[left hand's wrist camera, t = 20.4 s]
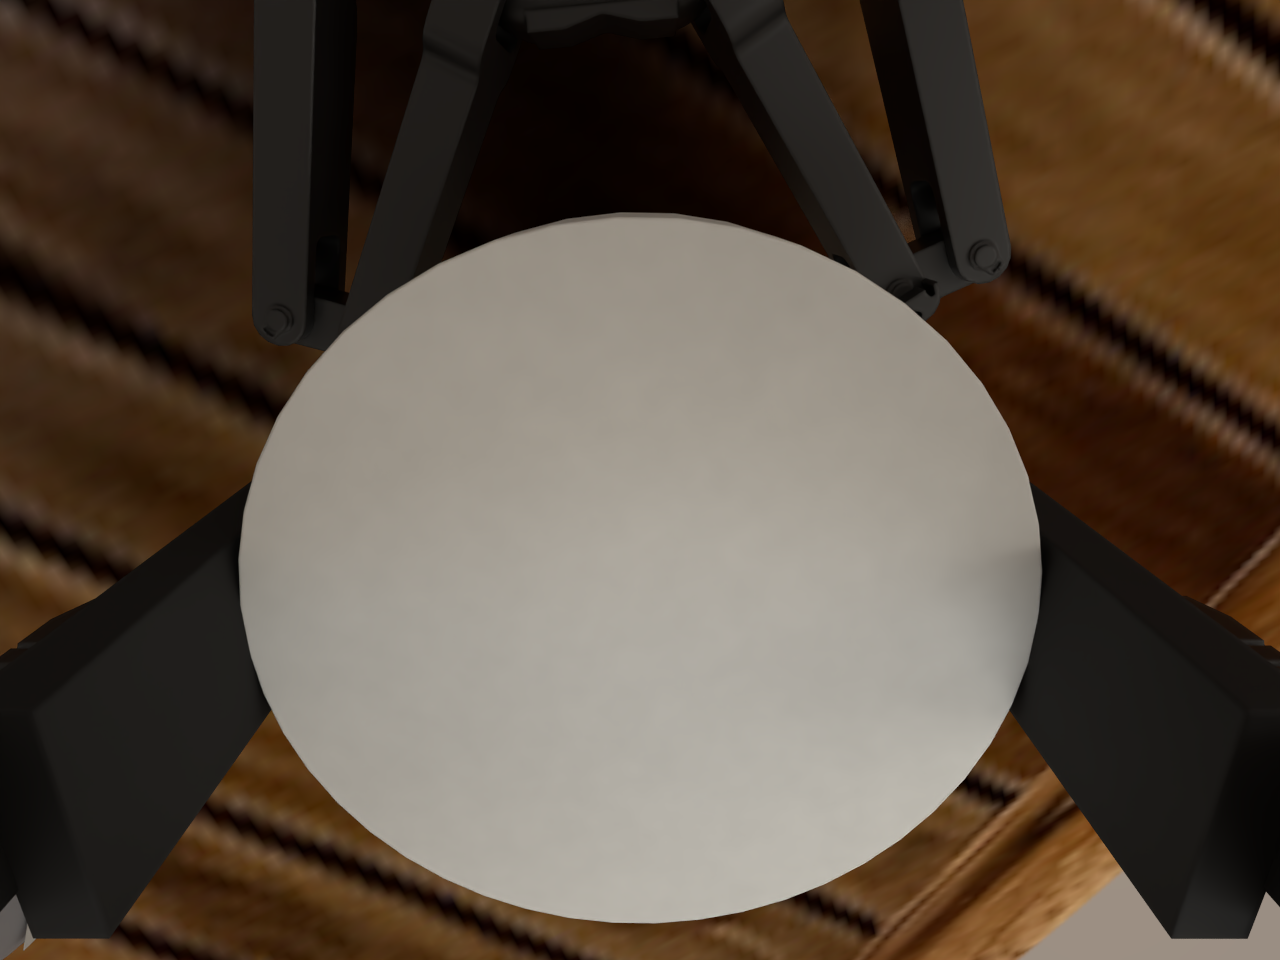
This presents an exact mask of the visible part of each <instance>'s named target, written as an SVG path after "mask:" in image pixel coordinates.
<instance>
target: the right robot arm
mask: <svg viewBox="0 0 1280 960" xmlns="http://www.w3.org/2000/svg"><path fill="white" fill-rule="evenodd" d="M860 4H861V8H862V12H863V17H864V21H865V25H866V29H867V34H868V38H869V42H870V46H871V51H872V55H873V59H874V63H875V68H876V72H877V76H878V80H879V85H880V89H881V93H882V97H883V102H884V106H885V110H886V114H887V119H888V123H889V127H890V131H891V135H892V140H893V144H894V148H895V152H896V157H897V161H898V165H899V169H900V174H901V178H902V182H903V186H904V191H905V195H906V199H907V203H908V208H909V212H910V216H911V220H912V225H913V229H914V233H915V237H916V240H914V241H912V242H909V243H907V242H906V240H905V238H904V236H903V235H902V233H901V231H900V229H899V227H898V225H897V223H896V222H895V220H894V218H893V216H892V214H891V212H890V210H889V208H888V207H887V205H886V203H885V201H884V199H883V197H882V195H881V193H880V192H879V190H878V188H877V186H876V184H875V182H874V180H873V178H872V177H871V175H870V173H869V171H868V169H867V167H866V165H865V163H864V162H863V160H862V158H861V156H860V154H859V152H858V150H857V148H856V147H855V145H854V143H853V141H852V139H851V137H850V135H849V133H848V132H847V130H846V128H845V126H844V124H843V122H842V120H841V118H840V117H839V115H838V113H837V111H836V109H835V107H834V105H833V104H832V102H831V100H830V98H829V96H828V94H827V92H826V90H825V89H824V87H823V85H822V83H821V81H820V79H819V77H818V75H817V74H816V72H815V70H814V68H813V66H812V64H811V62H810V60H809V59H808V57H807V55H806V53H805V51H804V49H803V47H802V45H801V44H800V42H799V40H798V38H797V36H796V34H795V32H794V30H793V29H792V27H791V25H790V23H789V21H788V18H787V16H786V13H785V7H784V2H783V0H432V1H431V4H430V7H429V10H428V14H427V17H426V21H425V25H424V30H423V55H422V59H421V63H420V66H419V69H418V72H417V76H416V79H415V82H414V85H413V89H412V92H411V95H410V98H409V102H408V105H407V108H406V111H405V115H404V118H403V121H402V124H401V128H400V131H399V134H398V137H397V140H396V144H395V147H394V150H393V153H392V157H391V160H390V163H389V166H388V170H387V173H386V176H385V179H384V183H383V186H382V189H381V192H380V196H379V199H378V202H377V205H376V208H375V212H374V215H373V218H372V221H371V225H370V228H369V231H368V234H367V238H366V241H365V244H364V247H363V251H362V254H361V257H360V260H359V264H358V267H357V270H356V273H355V276H354V280H353V283H352V286H351V289H350V293H347V292H345V272H346V252H347V231H348V210H349V189H350V168H351V147H352V126H353V105H354V84H355V63H356V42H357V5H356V0H254V105H253V272H252V316H253V321H254V326H255V327H256V329H257V331H258V332H259V334H260V335H261V336H262V337H263V338H265V339H266V340H267V341H268V342H270V343H273V344H276V345H278V346H282V345H291V344H293V343H295V344H299V345H303V346H307V347H311V348H315V349H319V350H323V351H326V350H327V349H328V348H329V347H330V345H331V344H332V343H333V342H334V341H335V340H336V339H337V338H338V336H339V335H340V334H341V333H342V332H343V331H344V330H345V329H346V328H348V327H349V326H350V325H351V324H352V323H354V322H355V321H356V320H357V319H358V318H360V317H361V316H362V315H363V314H364V313H366V312H367V311H368V310H369V309H371V308H372V307H373V306H374V305H375V304H377V303H378V302H379V301H380V300H381V299H383V298H384V297H385V296H386V295H387V294H389V293H391V292H392V291H394V290H396V289H397V288H399V287H401V286H402V285H404V284H406V283H407V282H409V281H411V280H412V279H414V278H415V277H417V276H419V275H420V274H422V273H424V272H425V271H427V270H429V269H430V268H432V267H434V266H435V265H437V264H439V263H441V261H442V258H443V255H444V253H445V250H446V247H447V244H448V241H449V238H450V235H451V232H452V229H453V226H454V224H455V221H456V218H457V215H458V212H459V209H460V206H461V203H462V200H463V198H464V195H465V192H466V189H467V186H468V183H469V180H470V177H471V174H472V172H473V169H474V166H475V163H476V160H477V157H478V154H479V151H480V148H481V145H482V143H483V140H484V137H485V134H486V131H487V128H488V125H489V122H490V119H491V117H492V114H493V111H494V108H495V105H496V102H497V99H498V97H499V95H500V93H501V91H502V90H503V88H504V87H505V85H506V83H507V81H508V79H509V77H510V74H511V72H512V69H513V66H514V63H515V60H516V57H517V54H518V51H519V49H520V46H521V43H522V40H523V41H526V42H529V43H533V44H536V45H537V47H538V48H539V50H541V49H551V48H561V47H571V46H575V45H577V44H579V43H582V42H584V41H586V40H589V39H591V38H594V37H596V36H598V35H601V34H603V33H612V34H617V35H622V36H627V37H632V38H637V39H651V38H661V37H671V36H675V33H676V30H677V29H680V28H682V27H684V26H686V25H687V24H689V23H692V25H693V27H694V29H695V30H696V32H697V34H698V36H699V37H700V39H701V41H702V43H703V44H704V46H705V48H706V50H707V51H708V53H709V55H710V56H711V58H712V59H713V61H714V62H715V64H716V65H717V66H718V67H719V68H720V69H721V70H722V72H723V73H724V75H725V76H726V78H727V79H728V81H729V83H730V85H731V86H732V88H733V90H734V92H735V93H736V95H737V97H738V99H739V100H740V102H741V104H742V106H743V107H744V109H745V111H746V113H747V114H748V116H749V118H750V120H751V121H752V123H753V125H754V127H755V128H756V130H757V132H758V134H759V135H760V137H761V139H762V141H763V142H764V144H765V146H766V148H767V149H768V151H769V153H770V155H771V156H772V158H773V160H774V162H775V163H776V165H777V167H778V169H779V170H780V172H781V174H782V176H783V177H784V179H785V181H786V183H787V184H788V186H789V188H790V190H791V191H792V193H793V195H794V197H795V198H796V200H797V202H798V204H799V205H800V207H801V209H802V211H803V212H804V214H805V216H806V218H807V219H808V221H809V223H810V225H811V226H812V228H813V230H814V232H815V233H816V235H817V237H818V239H819V240H820V242H821V244H822V246H823V247H824V249H825V251H826V253H827V254H828V256H829V258H830V259H831V260H833V261H835V262H838V263H840V264H842V265H844V266H846V267H848V268H850V269H852V270H855V271H857V272H858V273H860V274H861V275H863V276H864V277H866V278H867V279H869V280H870V281H872V282H873V283H875V284H876V285H878V286H879V287H881V288H882V289H884V290H885V291H887V292H888V293H890V294H891V295H893V296H894V297H896V298H897V299H899V300H901V301H902V302H904V303H905V304H906V305H907V306H908V307H910V308H911V309H912V310H913V311H914V312H915V313H916V314H917V315H918V316H920V317H921V318H922V319H923V320H924V321H926V320H927V319H928V318H929V317H930V316H931V315H933V314H934V312H935V310H936V308H937V307H938V305H939V302H940V298H941V297H943V296H945V295H947V294H949V293H952V292H954V291H956V290H958V289H961V288H963V287H965V286H967V285H970V284H972V283H977V284H982V283H988V282H990V281H992V280H994V279H996V278H997V277H999V276H1000V275H1001V274H1002V272H1003V271H1004V270H1005V269H1006V268H1007V265H1008V263H1009V260H1010V258H1011V245H1010V240H1009V235H1008V230H1007V225H1006V219H1005V214H1004V209H1003V204H1002V199H1001V194H1000V189H999V183H998V178H997V173H996V168H995V163H994V158H993V152H992V147H991V142H990V137H989V132H988V127H987V122H986V116H985V111H984V106H983V101H982V96H981V91H980V86H979V80H978V75H977V70H976V65H975V60H974V55H973V50H972V44H971V39H970V34H969V29H968V24H967V19H966V14H965V8H964V3H963V0H860Z"/></svg>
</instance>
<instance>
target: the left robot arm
mask: <svg viewBox="0 0 1280 960" xmlns="http://www.w3.org/2000/svg"><path fill="white" fill-rule="evenodd" d="M251 483H252V481H251V482H250V483H249V484H247V485H246V486H245V487H243V488H242V489H241V490H239V491H238V492H237V493H235V494H234V495H233V496H231V497H230V498H229V499H227V500H226V501H225V502H223V503H222V504H221V505H219V506H218V507H217V508H215V509H214V510H213V511H211V512H210V513H209V514H207V515H206V516H205V517H203V518H202V519H201V520H199V521H198V522H197V523H195V524H194V525H193V526H191V527H190V528H189V529H187V530H186V531H185V532H183V533H182V534H181V535H179V536H178V537H177V538H175V539H174V540H173V541H171V542H170V543H169V544H167V545H166V546H165V547H163V548H162V549H161V550H159V551H158V552H157V553H155V554H154V555H153V556H151V557H150V558H149V559H147V560H146V561H145V562H143V563H142V564H141V565H139V566H138V567H137V568H135V569H134V570H133V571H131V572H130V573H129V574H127V575H126V576H125V577H123V578H122V579H121V580H119V581H118V582H117V583H115V584H114V585H113V586H111V587H110V588H109V589H107V590H106V591H105V592H103V593H102V594H101V595H99V596H98V597H97V598H95V599H93V600H91V601H89V602H87V603H85V604H83V605H80V606H78V607H76V608H74V609H72V610H70V611H68V612H66V613H63V614H61V615H59V616H57V617H55V618H53V619H51V620H49V621H48V622H47V623H45V624H44V625H43V626H41V627H40V628H38V629H37V630H36V631H34V632H33V633H32V634H30V635H29V636H27V637H26V638H25V639H23V640H22V641H21V642H19V643H18V647H17V649H10V650H8V651H7V652H6V653H4V654H3V655H1V656H0V960H2V959H4V958H5V957H7V956H8V955H9V954H10V953H12V952H13V951H14V950H15V949H16V948H17V947H18V946H20V945H21V944H23V943H24V942H25V943H24V949H23V951H24V950H25V949H26V948H27V947H28V946H29V945H30V944H31V943H32V942H33V941H34V940H35V939H36V938H110V937H111V935H112V934H113V932H114V931H115V930H116V928H117V927H118V925H119V924H120V922H121V921H122V920H123V918H124V917H125V915H126V914H127V913H128V911H129V910H130V908H131V907H132V906H133V904H134V903H135V901H136V900H137V898H138V897H139V896H140V894H141V893H142V891H143V890H144V889H145V887H146V886H147V884H148V883H149V882H150V880H151V879H152V877H153V876H154V874H155V873H156V872H157V870H158V869H159V867H160V866H161V865H162V863H163V862H164V860H165V859H166V858H167V856H168V855H169V853H170V852H171V850H172V849H173V848H174V846H175V845H176V843H177V842H178V841H179V839H180V838H181V836H182V835H183V834H184V832H185V831H186V829H187V828H188V826H189V825H190V824H191V822H192V821H193V819H194V818H195V817H196V815H197V814H198V812H199V811H200V810H201V808H202V807H203V805H204V804H205V803H206V801H207V800H208V798H209V797H210V795H211V794H212V793H213V791H214V790H215V788H216V787H217V786H218V784H219V783H220V781H221V780H222V779H223V777H224V776H225V774H226V773H227V771H228V770H229V769H230V767H231V766H232V764H233V763H234V762H235V760H236V759H237V757H238V756H239V755H240V753H241V752H242V750H243V749H244V747H245V746H246V745H247V743H248V742H249V740H250V739H251V738H252V736H253V735H254V733H255V732H256V731H257V729H258V728H259V726H260V725H261V723H262V722H263V721H264V719H265V718H266V716H267V715H268V714H269V712H270V711H271V707H270V705H269V703H268V701H267V699H266V697H265V695H264V693H263V691H262V688H261V685H260V682H259V679H258V676H257V673H256V670H255V667H254V664H253V662H252V658H251V654H250V650H249V645H248V640H247V635H246V631H245V626H244V621H243V616H242V611H241V606H240V586H239V562H238V559H239V550H240V541H241V532H242V523H243V514H244V508H245V505H246V501H247V497H248V494H249V490H250V486H251ZM1029 483H1030V488H1031V492H1032V496H1033V501H1034V505H1035V510H1036V514H1037V518H1038V523H1039V534H1040V548H1041V562H1042V581H1041V593H1040V606H1039V614H1038V620H1037V624H1036V629H1035V634H1034V638H1033V643H1032V647H1031V652H1030V657H1029V661H1028V665H1027V667H1026V670H1025V672H1024V675H1023V677H1022V680H1021V683H1020V685H1019V688H1018V690H1017V693H1016V696H1015V698H1014V701H1013V703H1012V705H1011V707H1010V709H1009V710H1010V712H1011V713H1012V714H1013V716H1014V717H1015V719H1016V720H1017V721H1018V723H1019V724H1020V726H1021V727H1022V728H1023V730H1024V731H1025V733H1026V734H1027V735H1028V737H1029V738H1030V740H1031V741H1032V743H1033V744H1034V745H1035V747H1036V748H1037V750H1038V751H1039V752H1040V754H1041V755H1042V757H1043V758H1044V759H1045V761H1046V762H1047V764H1048V765H1049V767H1050V768H1051V769H1052V771H1053V772H1054V774H1055V775H1056V776H1057V778H1058V779H1059V781H1060V782H1061V783H1062V785H1063V786H1064V788H1065V789H1066V791H1067V792H1068V793H1069V795H1070V796H1071V798H1072V799H1073V800H1074V802H1075V803H1076V805H1077V806H1078V807H1079V809H1080V810H1081V812H1082V813H1083V815H1084V816H1085V817H1086V819H1087V820H1088V822H1089V823H1090V824H1091V826H1092V827H1093V829H1094V830H1095V831H1096V833H1097V834H1098V836H1099V837H1100V839H1101V840H1102V841H1103V843H1104V844H1105V846H1106V847H1107V848H1108V850H1109V851H1110V853H1111V854H1112V855H1113V857H1114V858H1115V860H1116V861H1117V862H1118V864H1119V865H1120V867H1121V868H1122V870H1123V871H1124V872H1125V874H1126V875H1127V877H1128V878H1129V879H1130V881H1131V882H1132V884H1133V885H1134V886H1135V888H1136V889H1137V891H1138V892H1139V894H1140V895H1141V896H1142V898H1143V899H1144V901H1145V902H1146V903H1147V905H1148V906H1149V908H1150V909H1151V910H1152V912H1153V913H1154V915H1155V916H1156V918H1157V919H1158V920H1159V922H1160V923H1161V925H1162V926H1163V927H1164V929H1165V930H1166V932H1167V933H1168V934H1169V936H1170V937H1171V938H1172V939H1247V938H1248V936H1249V934H1250V931H1251V929H1252V926H1253V923H1254V921H1255V918H1256V916H1257V913H1258V911H1259V908H1260V905H1261V903H1262V900H1263V898H1264V895H1265V893H1266V892H1267V893H1268V894H1269V895H1270V896H1271V898H1272V899H1273V900H1274V901H1275V902H1276V903H1277V904H1278V905H1279V907H1280V652H1279V651H1277V650H1276V649H1275V648H1273V647H1272V646H1265V645H1264V640H1262V639H1261V638H1260V637H1258V636H1257V635H1255V634H1254V633H1253V632H1251V631H1250V630H1248V629H1247V628H1246V627H1244V626H1243V625H1242V624H1240V623H1239V622H1237V621H1236V620H1235V619H1233V618H1232V617H1230V616H1228V615H1226V614H1224V613H1222V612H1220V611H1218V610H1215V609H1213V608H1211V607H1209V606H1207V605H1205V604H1203V603H1200V602H1198V601H1196V600H1194V599H1192V598H1190V597H1187V596H1181V595H1180V594H1178V593H1177V592H1176V591H1174V590H1173V589H1172V588H1170V587H1169V586H1168V585H1166V584H1165V583H1164V582H1162V581H1161V580H1160V579H1158V578H1157V577H1156V576H1154V575H1153V574H1152V573H1150V572H1149V571H1148V570H1146V569H1145V568H1144V567H1142V566H1141V565H1140V564H1138V563H1137V562H1136V561H1134V560H1133V559H1132V558H1130V557H1129V556H1128V555H1126V554H1125V553H1124V552H1122V551H1121V550H1120V549H1118V548H1117V547H1116V546H1115V545H1113V544H1112V543H1111V542H1109V541H1108V540H1107V539H1105V538H1104V537H1103V536H1101V535H1100V534H1099V533H1097V532H1096V531H1095V530H1093V529H1092V528H1091V527H1089V526H1088V525H1087V524H1085V523H1084V522H1083V521H1081V520H1080V519H1079V518H1077V517H1076V516H1075V515H1073V514H1072V513H1071V512H1069V511H1068V510H1067V509H1065V508H1064V507H1063V506H1061V505H1060V504H1059V503H1057V502H1056V501H1055V500H1053V499H1052V498H1051V497H1049V496H1048V495H1047V494H1045V493H1044V492H1043V491H1041V490H1040V489H1039V488H1037V487H1036V486H1035V485H1033V484H1032V483H1031V482H1029Z"/></svg>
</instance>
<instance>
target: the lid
mask: <svg viewBox="0 0 1280 960" xmlns="http://www.w3.org/2000/svg"><path fill="white" fill-rule="evenodd" d="M238 562H239V586H240V606H241V611H242V616H243V621H244V626H245V631H246V635H247V640H248V645H249V650H250V654H251V658H252V662H253V664H254V667H255V670H256V673H257V676H258V679H259V682H260V685H261V688H262V691H263V693H264V695H265V697H266V699H267V701H268V703H269V705H270V707H271V709H272V711H273V713H274V715H275V717H276V719H277V721H278V723H279V725H280V727H281V729H282V731H283V733H284V735H285V736H286V737H287V739H288V740H289V742H290V743H291V745H292V746H293V748H294V749H295V751H296V752H297V754H298V755H299V756H300V758H301V759H302V761H303V762H304V764H305V765H306V767H307V768H308V770H309V771H310V772H311V773H312V774H313V775H314V776H315V778H316V779H317V780H318V781H319V782H320V783H321V784H322V786H323V787H324V788H325V789H326V790H327V791H328V792H329V793H330V795H331V796H332V797H333V798H334V799H335V800H336V801H337V802H338V803H339V804H340V805H341V806H342V807H343V808H344V809H345V810H346V811H348V812H349V813H350V814H351V815H352V816H353V817H354V818H355V819H356V820H358V821H359V822H360V823H361V824H362V825H363V826H364V827H365V828H367V829H368V830H369V831H370V832H371V833H373V834H374V835H375V836H377V837H378V838H380V839H381V840H382V841H384V842H385V843H387V844H388V845H390V846H391V847H392V848H394V849H395V850H397V851H398V852H399V853H401V854H402V855H404V856H405V857H407V858H408V859H410V860H412V861H414V862H416V863H417V864H419V865H421V866H423V867H425V868H426V869H428V870H430V871H432V872H434V873H435V874H437V875H439V876H441V877H442V878H444V879H447V880H449V881H451V882H454V883H456V884H458V885H461V886H463V887H465V888H468V889H470V890H472V891H475V892H477V893H479V894H482V895H484V896H487V897H490V898H493V899H497V900H500V901H503V902H506V903H509V904H512V905H516V906H519V907H522V908H525V909H530V910H534V911H539V912H544V913H549V914H554V915H558V916H563V917H568V918H576V919H585V920H595V921H604V922H615V923H663V922H675V921H687V920H699V919H705V918H710V917H716V916H721V915H727V914H732V913H738V912H743V911H747V910H750V909H754V908H757V907H761V906H764V905H768V904H771V903H775V902H778V901H782V900H785V899H788V898H790V897H793V896H795V895H798V894H800V893H803V892H806V891H808V890H811V889H813V888H816V887H818V886H821V885H823V884H826V883H828V882H830V881H831V880H833V879H835V878H837V877H839V876H841V875H843V874H845V873H847V872H849V871H851V870H853V869H854V868H856V867H858V866H860V865H862V864H864V863H866V862H867V861H869V860H870V859H872V858H873V857H875V856H876V855H878V854H879V853H881V852H882V851H884V850H885V849H887V848H888V847H890V846H891V845H893V844H894V843H896V842H897V841H899V840H900V839H902V838H903V837H904V836H905V835H906V834H907V833H909V832H910V831H911V830H912V829H913V828H915V827H916V826H917V825H918V824H919V823H921V822H922V821H923V820H924V819H925V818H927V817H928V816H929V815H930V814H931V813H933V812H934V811H935V810H936V809H937V808H938V807H939V805H940V804H941V803H942V802H943V801H944V800H945V799H946V798H947V797H948V796H949V795H950V794H951V793H952V792H953V791H954V790H955V789H956V787H957V786H958V785H959V784H960V783H961V782H962V781H963V780H964V779H965V778H966V776H967V775H968V773H969V772H970V771H971V769H972V768H973V767H974V765H975V764H976V763H977V761H978V760H979V758H980V757H981V756H982V754H983V753H984V752H985V750H986V749H987V748H988V746H989V745H990V744H991V742H992V740H993V738H994V736H995V734H996V733H997V731H998V729H999V727H1000V725H1001V724H1002V722H1003V720H1004V718H1005V716H1006V715H1007V713H1008V711H1009V709H1010V707H1011V705H1012V703H1013V701H1014V698H1015V696H1016V693H1017V690H1018V688H1019V685H1020V683H1021V680H1022V677H1023V675H1024V672H1025V670H1026V667H1027V665H1028V661H1029V657H1030V652H1031V647H1032V643H1033V638H1034V634H1035V629H1036V624H1037V620H1038V614H1039V606H1040V593H1041V581H1042V562H1041V548H1040V534H1039V523H1038V518H1037V514H1036V510H1035V505H1034V501H1033V496H1032V492H1031V488H1030V483H1029V479H1028V475H1027V473H1026V470H1025V468H1024V465H1023V463H1022V460H1021V458H1020V455H1019V453H1018V450H1017V448H1016V445H1015V443H1014V440H1013V438H1012V435H1011V433H1010V430H1009V428H1008V426H1007V425H1006V423H1005V421H1004V420H1003V418H1002V416H1001V414H1000V413H999V411H998V409H997V408H996V406H995V404H994V403H993V401H992V399H991V398H990V396H989V394H988V393H987V391H986V389H985V388H984V386H983V384H982V383H981V382H980V380H979V379H978V378H977V377H976V375H975V374H974V373H973V372H972V371H971V369H970V368H969V367H968V366H967V365H966V363H965V362H964V361H963V360H962V359H961V357H960V356H959V355H958V354H957V352H956V351H955V350H954V349H953V348H952V346H951V345H950V344H949V343H948V342H947V341H946V340H945V339H944V338H943V337H942V336H941V335H940V334H939V333H937V332H936V331H935V330H934V329H933V328H932V327H931V326H930V325H929V324H927V323H926V322H925V321H924V320H923V319H922V318H921V317H920V316H918V315H917V314H916V313H915V312H914V311H913V310H912V309H911V308H910V307H908V306H907V305H906V304H905V303H904V302H902V301H901V300H899V299H897V298H896V297H894V296H893V295H891V294H890V293H888V292H887V291H885V290H884V289H882V288H881V287H879V286H878V285H876V284H875V283H873V282H872V281H870V280H869V279H867V278H866V277H864V276H863V275H861V274H860V273H858V272H857V271H855V270H852V269H850V268H848V267H846V266H844V265H842V264H840V263H838V262H835V261H833V260H831V259H829V258H827V257H825V256H823V255H820V254H818V253H816V252H814V251H812V250H810V249H808V248H805V247H803V246H801V245H798V244H795V243H793V242H790V241H787V240H784V239H781V238H778V237H775V236H772V235H769V234H765V233H762V232H759V231H755V230H752V229H749V228H746V227H742V226H739V225H736V224H733V223H729V222H725V221H719V220H713V219H706V218H700V217H694V216H687V215H681V214H675V213H624V212H620V213H612V214H603V215H595V216H587V217H579V218H570V219H565V220H561V221H557V222H554V223H550V224H546V225H542V226H539V227H535V228H531V229H527V230H523V231H520V232H516V233H513V234H510V235H507V236H504V237H501V238H499V239H496V240H493V241H491V242H488V243H486V244H484V245H481V246H479V247H477V248H474V249H472V250H469V251H467V252H465V253H462V254H460V255H458V256H455V257H453V258H451V259H448V260H446V261H444V262H441V263H439V264H437V265H435V266H434V267H432V268H430V269H429V270H427V271H425V272H424V273H422V274H420V275H419V276H417V277H415V278H414V279H412V280H411V281H409V282H407V283H406V284H404V285H402V286H401V287H399V288H397V289H396V290H394V291H392V292H391V293H389V294H387V295H386V296H385V297H384V298H383V299H381V300H380V301H379V302H378V303H377V304H375V305H374V306H373V307H372V308H371V309H369V310H368V311H367V312H366V313H364V314H363V315H362V316H361V317H360V318H358V319H357V320H356V321H355V322H354V323H352V324H351V325H350V326H349V327H348V328H346V329H345V330H344V331H343V332H342V333H341V334H340V335H339V336H338V338H337V339H336V340H335V341H334V342H333V343H332V344H331V345H330V347H329V348H328V349H327V350H326V351H325V352H324V353H323V354H322V355H321V357H320V358H319V359H318V360H317V361H316V362H315V363H314V364H313V366H312V367H311V368H310V369H309V370H308V371H307V372H306V374H305V375H304V377H303V378H302V380H301V382H300V383H299V385H298V386H297V388H296V389H295V391H294V392H293V394H292V395H291V397H290V398H289V400H288V402H287V403H286V405H285V406H284V408H283V409H282V411H281V412H280V414H279V415H278V417H277V419H276V422H275V424H274V426H273V428H272V430H271V433H270V435H269V437H268V439H267V442H266V444H265V446H264V448H263V451H262V453H261V455H260V457H259V459H258V462H257V464H256V468H255V472H254V475H253V479H252V483H251V486H250V490H249V494H248V497H247V501H246V505H245V508H244V514H243V523H242V532H241V541H240V550H239V559H238Z"/></svg>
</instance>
